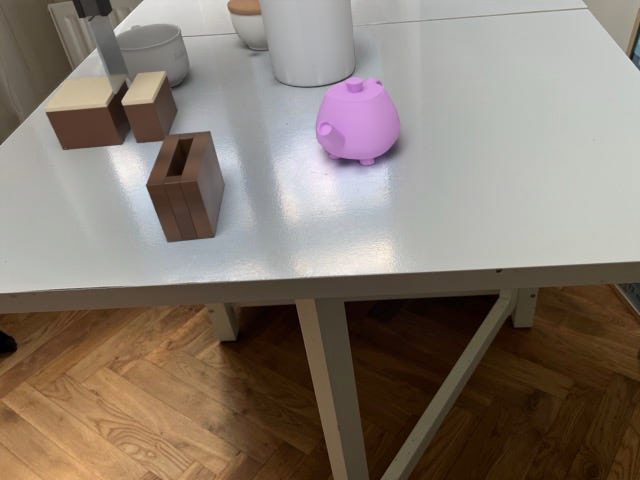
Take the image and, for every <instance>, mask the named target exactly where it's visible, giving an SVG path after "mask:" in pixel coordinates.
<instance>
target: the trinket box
mask: <svg viewBox="0 0 640 480" xmlns="http://www.w3.org/2000/svg"><path fill="white" fill-rule="evenodd" d="M226 6H227V10H228V13H229V17H230V20H231V24H232V26H233V29H234V31H235V33H236V35H237V36H238V38H239V40H240V41H242V42H243V43H244V44H245V45H247V46H248V48H249V49H251V50H253V51H269V48H268V43H267V39H266V34H265V29H264V24H263V19H262V14H261V10H260V5H259V0H229V1H228V2H227V4H226Z"/></svg>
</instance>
